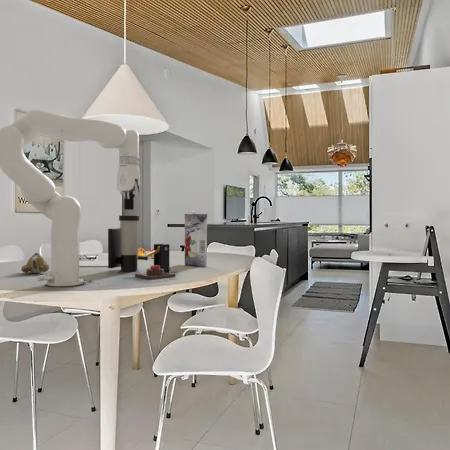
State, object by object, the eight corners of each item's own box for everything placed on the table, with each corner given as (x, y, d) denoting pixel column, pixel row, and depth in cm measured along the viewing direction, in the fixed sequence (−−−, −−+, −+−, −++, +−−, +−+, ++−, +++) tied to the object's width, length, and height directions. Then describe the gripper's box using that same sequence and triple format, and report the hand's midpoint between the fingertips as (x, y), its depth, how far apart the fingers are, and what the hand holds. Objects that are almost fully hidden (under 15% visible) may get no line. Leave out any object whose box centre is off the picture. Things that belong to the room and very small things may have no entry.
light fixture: (132, 275, 178) (132, 215, 178) (107, 274, 180) (107, 215, 180) (143, 271, 190) (143, 215, 190) (120, 271, 192) (120, 215, 192)
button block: (150, 282, 160) (150, 271, 160) (134, 279, 167) (134, 269, 167) (175, 279, 169) (175, 269, 169) (159, 276, 176) (159, 266, 176)
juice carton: (196, 264, 220) (197, 211, 219) (209, 266, 211) (209, 211, 211) (182, 265, 214) (182, 211, 213) (194, 267, 206) (194, 210, 205)
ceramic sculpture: (50, 250, 193) (48, 255, 179) (51, 269, 194) (48, 276, 179) (24, 251, 190) (19, 256, 175) (25, 270, 190) (20, 277, 176)
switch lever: (146, 261, 172) (144, 256, 172) (138, 260, 176) (137, 255, 175) (168, 250, 181) (167, 244, 180) (161, 249, 184) (159, 244, 183)
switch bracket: (157, 276, 175) (157, 245, 175) (146, 274, 181) (146, 244, 180) (176, 274, 182) (177, 244, 182) (165, 272, 188) (165, 243, 187)
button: (154, 271, 165) (154, 266, 165) (148, 270, 168) (148, 265, 168) (161, 270, 168) (161, 265, 168) (156, 269, 170) (156, 264, 170)
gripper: (110, 163, 171) (110, 209, 172) (131, 159, 161) (131, 209, 161) (126, 164, 177) (126, 209, 177) (148, 161, 166) (148, 209, 167)
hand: (128, 209), depth 169 cm, fingers closed
